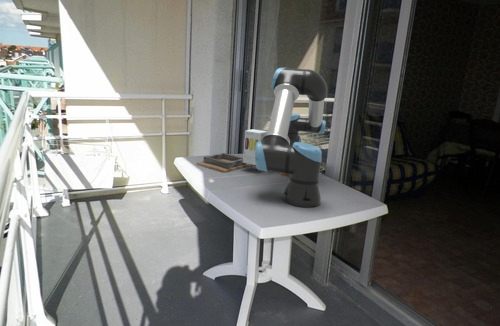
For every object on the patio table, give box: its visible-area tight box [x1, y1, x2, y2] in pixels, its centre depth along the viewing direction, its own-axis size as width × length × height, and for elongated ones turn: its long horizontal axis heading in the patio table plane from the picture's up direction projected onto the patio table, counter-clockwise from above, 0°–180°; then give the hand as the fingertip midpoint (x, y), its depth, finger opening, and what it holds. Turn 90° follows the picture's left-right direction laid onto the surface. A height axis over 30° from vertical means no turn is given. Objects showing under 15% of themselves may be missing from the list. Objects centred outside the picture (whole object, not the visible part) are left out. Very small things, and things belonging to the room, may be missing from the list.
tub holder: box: [195, 152, 254, 174], centre depth 188 cm, size 24×20×4 cm
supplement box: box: [242, 128, 268, 166], centre depth 178 cm, size 10×9×17 cm
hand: (252, 145), depth 177 cm, fingers closed on supplement box, 11 cm apart
